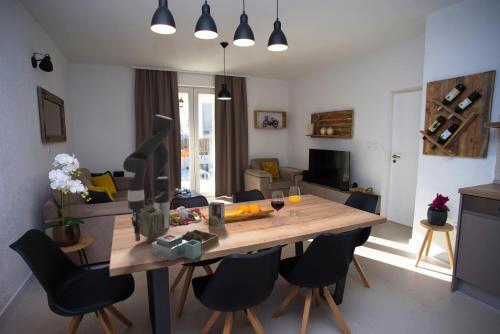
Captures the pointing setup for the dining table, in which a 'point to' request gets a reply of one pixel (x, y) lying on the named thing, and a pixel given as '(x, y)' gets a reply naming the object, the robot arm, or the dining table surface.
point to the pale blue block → (169, 246)
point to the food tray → (184, 216)
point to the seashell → (193, 237)
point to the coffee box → (216, 215)
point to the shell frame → (210, 238)
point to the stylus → (137, 236)
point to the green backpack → (152, 222)
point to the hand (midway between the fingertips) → (137, 232)
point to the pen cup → (192, 249)
